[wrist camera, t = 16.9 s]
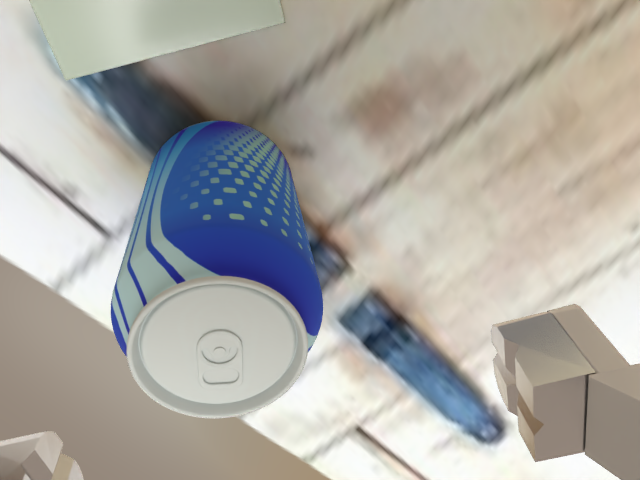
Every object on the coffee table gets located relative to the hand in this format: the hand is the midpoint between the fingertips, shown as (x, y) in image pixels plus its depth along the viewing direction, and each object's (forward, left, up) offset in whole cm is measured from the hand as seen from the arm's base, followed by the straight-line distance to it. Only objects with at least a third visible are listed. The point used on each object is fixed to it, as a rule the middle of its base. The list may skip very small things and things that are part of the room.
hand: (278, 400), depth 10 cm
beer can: (+3, +6, -25) cm, 26 cm away
